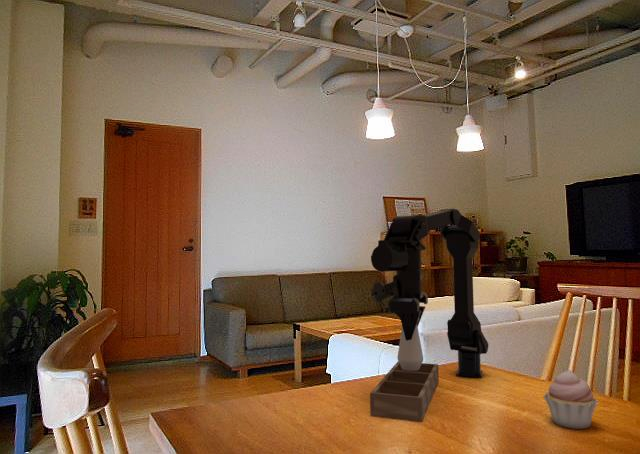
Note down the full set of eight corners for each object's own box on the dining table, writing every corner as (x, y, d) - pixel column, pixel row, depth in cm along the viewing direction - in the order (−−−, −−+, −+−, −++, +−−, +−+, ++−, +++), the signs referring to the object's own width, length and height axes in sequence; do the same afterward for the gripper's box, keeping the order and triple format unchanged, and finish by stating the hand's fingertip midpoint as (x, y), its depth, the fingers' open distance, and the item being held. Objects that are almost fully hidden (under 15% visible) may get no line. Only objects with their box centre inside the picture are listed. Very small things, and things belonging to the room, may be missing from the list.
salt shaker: (416, 373, 103) (415, 312, 103) (393, 369, 106) (392, 311, 107) (427, 367, 107) (426, 310, 108) (404, 364, 111) (403, 308, 111)
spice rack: (398, 378, 122) (397, 361, 122) (438, 382, 119) (438, 364, 119) (370, 415, 95) (370, 393, 95) (421, 421, 91) (421, 398, 92)
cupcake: (607, 424, 90) (605, 370, 90) (588, 437, 83) (586, 379, 84) (556, 411, 97) (554, 362, 97) (535, 422, 90) (534, 369, 91)
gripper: (382, 268, 119) (383, 331, 119) (364, 271, 102) (365, 345, 101) (427, 268, 116) (428, 333, 115) (416, 272, 98) (417, 348, 97)
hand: (409, 339), depth 107 cm, fingers closed on salt shaker, 3 cm apart
